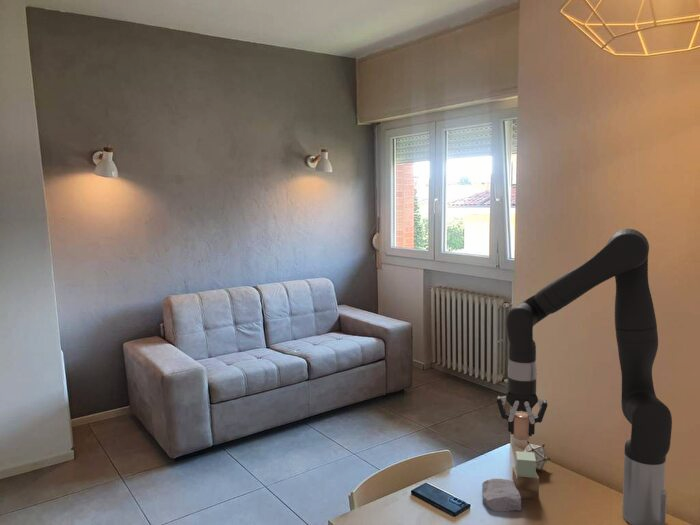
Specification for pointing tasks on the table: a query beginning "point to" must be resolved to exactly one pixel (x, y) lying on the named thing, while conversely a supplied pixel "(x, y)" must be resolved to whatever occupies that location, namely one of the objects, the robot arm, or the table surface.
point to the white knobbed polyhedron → (537, 454)
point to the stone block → (501, 495)
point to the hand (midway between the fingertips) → (521, 433)
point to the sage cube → (525, 464)
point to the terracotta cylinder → (521, 426)
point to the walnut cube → (526, 485)
